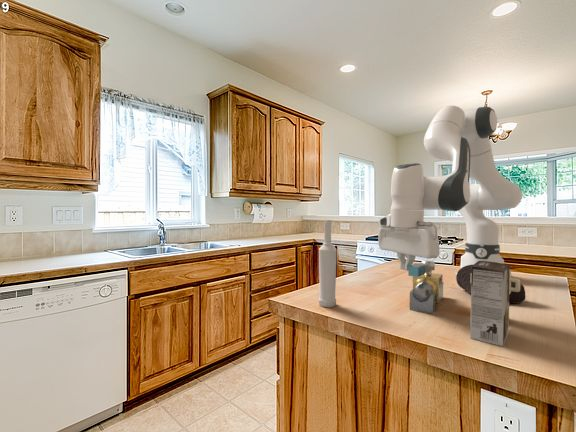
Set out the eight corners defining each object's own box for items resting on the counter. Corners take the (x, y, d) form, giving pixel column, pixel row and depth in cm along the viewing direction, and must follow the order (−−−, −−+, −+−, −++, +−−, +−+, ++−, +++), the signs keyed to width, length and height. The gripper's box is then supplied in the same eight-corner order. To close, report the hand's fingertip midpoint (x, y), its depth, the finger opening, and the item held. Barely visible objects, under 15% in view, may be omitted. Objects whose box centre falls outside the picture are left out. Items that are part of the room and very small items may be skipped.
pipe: (528, 281, 89) (504, 263, 103) (470, 281, 92) (455, 264, 107) (526, 312, 90) (503, 290, 105) (470, 311, 94) (455, 290, 108)
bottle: (338, 307, 88) (339, 220, 88) (321, 308, 87) (322, 220, 87) (332, 301, 93) (333, 219, 93) (316, 302, 92) (316, 219, 92)
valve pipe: (421, 293, 103) (422, 264, 102) (445, 297, 99) (445, 266, 98) (407, 309, 86) (407, 275, 86) (434, 314, 82) (435, 278, 82)
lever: (423, 268, 95) (423, 259, 95) (436, 269, 92) (436, 261, 92) (406, 275, 84) (406, 265, 84) (420, 277, 82) (420, 267, 82)
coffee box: (476, 326, 74) (478, 260, 74) (509, 333, 70) (511, 263, 69) (468, 338, 67) (470, 265, 67) (504, 347, 63) (506, 269, 62)
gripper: (446, 222, 78) (445, 276, 78) (391, 219, 97) (390, 263, 97) (427, 222, 75) (426, 278, 76) (374, 219, 94) (374, 264, 95)
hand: (405, 269), depth 86 cm, fingers closed
